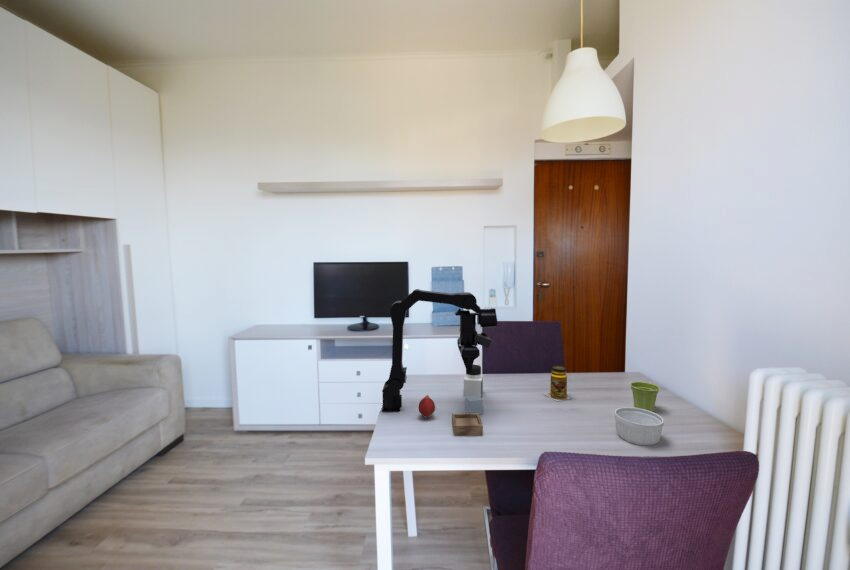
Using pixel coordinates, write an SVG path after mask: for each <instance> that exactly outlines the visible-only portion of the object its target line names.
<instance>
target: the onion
mask: <svg viewBox="0 0 850 570" xmlns="http://www.w3.org/2000/svg"><path fill="white" fill-rule="evenodd" d="M435 411H436V404H435V402H434V400H433V399H432V398H430V395H428V394H425V396H424V397H423V398H421V400H419V402H418V412H419V414H420V415H422V416H423V417H425V418H427V419H428V418H429V417H431V416H432V415H433V414H434V412H435Z"/></svg>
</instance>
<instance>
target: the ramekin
mask: <svg viewBox="0 0 850 570" xmlns="http://www.w3.org/2000/svg"><path fill="white" fill-rule="evenodd" d="M614 419H615V429H616V433H617V434H618V436H619V437H620V438H621V439H623V440H624V441H626V442H628V443H631V444H634V445H639V446H654V445H656V444H657V443H659V442H660V440H661V436H662V431H663V427H664V424H665V420H664V418H663V417H662V416H661V415H660V414H658V413H656V412H654V411H648V410H645V409H640V408H635V407H634V406H633V407H632V406H624V407H619V408H616V409H615V410H614Z"/></svg>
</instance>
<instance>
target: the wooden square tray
mask: <svg viewBox="0 0 850 570" xmlns="http://www.w3.org/2000/svg"><path fill="white" fill-rule="evenodd" d="M482 422H483V421H482V419H481V416H480V414H479V413H468V412H466V413H451V424H452V432H453V437H464V436H465V437H474V436H475V437H479V436H481V437H483V436H484V429H483V428H484V425H483V423H482Z"/></svg>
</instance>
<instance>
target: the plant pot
mask: <svg viewBox="0 0 850 570" xmlns="http://www.w3.org/2000/svg"><path fill="white" fill-rule="evenodd" d="M629 386H630V388H631V390H632V391H631V392H632V400H633V407H634V408H640V409H645V410H648V411H651V412H654V411H655V405H656V401H657V397H658V394H659V391H660V390H661V387H660V386H658V385H656V384H653V383H649V382H645V381H632V382H630V383H629Z"/></svg>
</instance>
